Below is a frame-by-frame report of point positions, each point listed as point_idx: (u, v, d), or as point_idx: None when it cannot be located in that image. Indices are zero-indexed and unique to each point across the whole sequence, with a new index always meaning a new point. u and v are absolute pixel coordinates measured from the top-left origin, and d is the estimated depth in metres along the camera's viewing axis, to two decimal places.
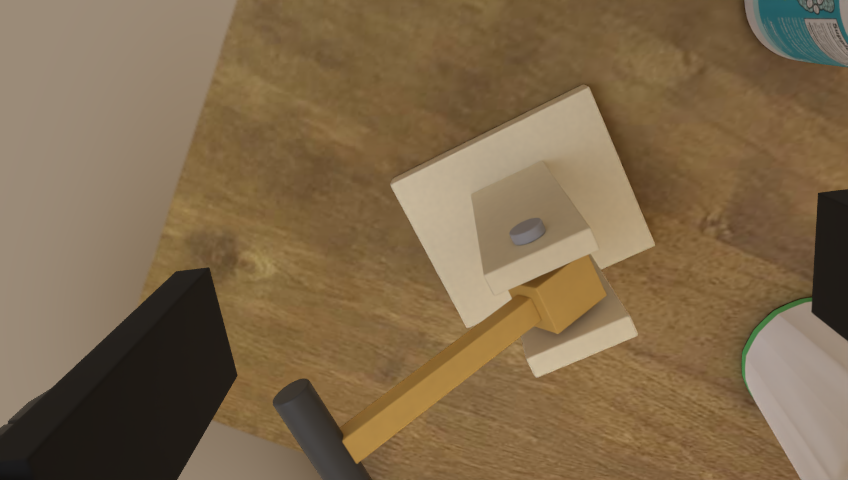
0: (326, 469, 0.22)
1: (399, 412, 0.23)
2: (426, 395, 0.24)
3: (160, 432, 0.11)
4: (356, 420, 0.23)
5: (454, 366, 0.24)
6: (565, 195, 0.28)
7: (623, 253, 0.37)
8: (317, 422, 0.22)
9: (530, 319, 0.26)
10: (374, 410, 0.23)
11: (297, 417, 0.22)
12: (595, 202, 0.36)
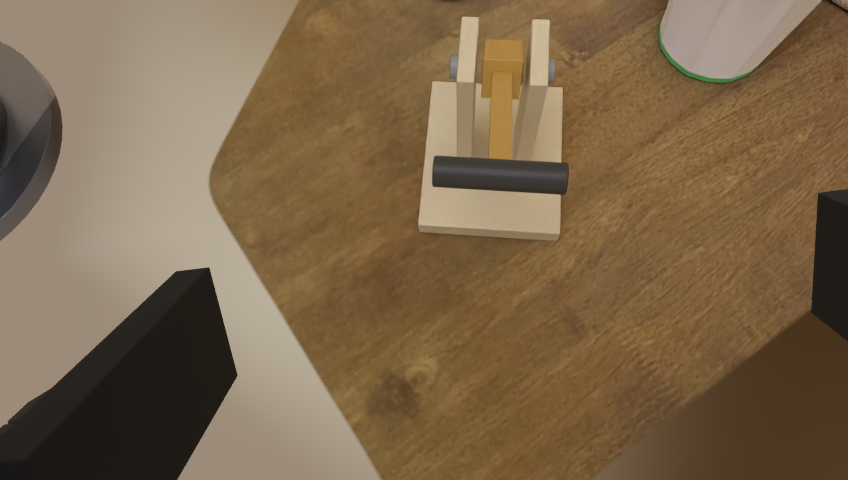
0: (498, 170, 0.29)
1: (499, 133, 0.31)
2: (502, 121, 0.32)
3: (160, 432, 0.11)
4: None
5: (497, 107, 0.33)
6: None
7: (557, 107, 0.49)
8: (460, 157, 0.29)
9: (505, 75, 0.36)
10: (488, 147, 0.31)
11: (447, 163, 0.29)
12: None
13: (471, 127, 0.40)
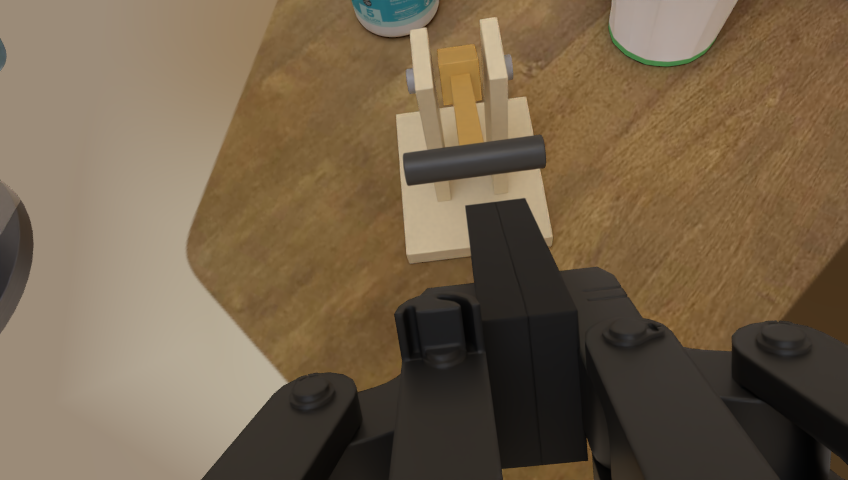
0: (471, 153, 0.27)
1: (466, 124, 0.30)
2: (467, 113, 0.31)
3: None
4: None
5: (460, 102, 0.32)
6: None
7: (524, 116, 0.48)
8: (430, 149, 0.28)
9: (463, 76, 0.35)
10: None
11: (418, 157, 0.27)
12: None
13: (440, 140, 0.39)
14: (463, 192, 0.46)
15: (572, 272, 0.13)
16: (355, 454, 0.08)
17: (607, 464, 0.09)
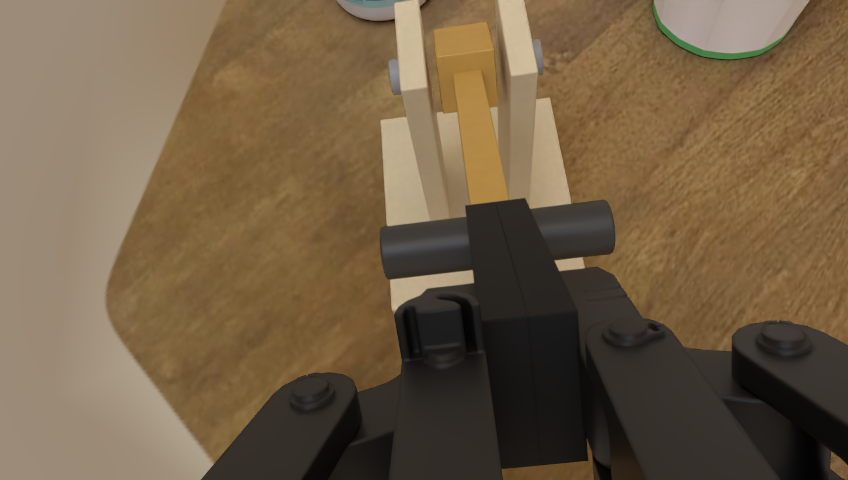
0: None
1: (481, 168, 0.19)
2: (481, 147, 0.20)
3: None
4: None
5: (470, 125, 0.21)
6: None
7: (548, 123, 0.37)
8: (424, 224, 0.17)
9: (472, 74, 0.24)
10: (468, 194, 0.19)
11: (405, 238, 0.17)
12: None
13: (438, 160, 0.28)
14: None
15: (572, 271, 0.13)
16: (355, 454, 0.08)
17: (607, 464, 0.09)
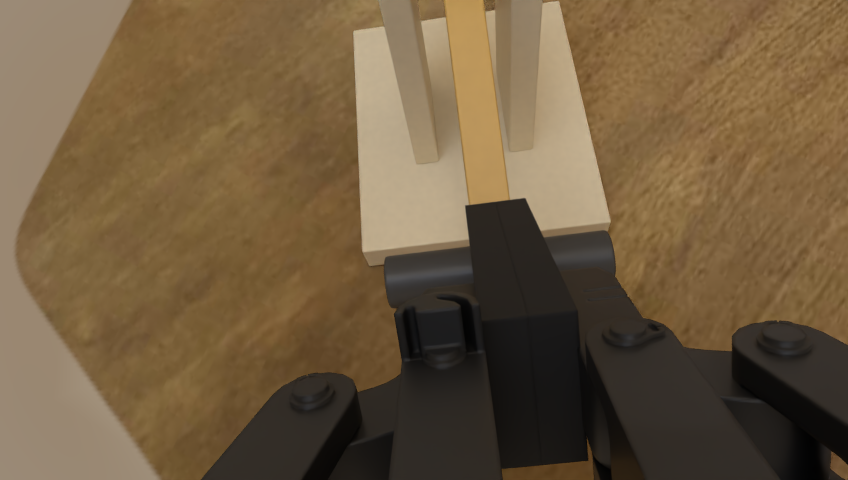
0: None
1: (482, 166, 0.17)
2: (481, 123, 0.18)
3: None
4: None
5: (466, 73, 0.18)
6: None
7: (557, 29, 0.30)
8: (428, 269, 0.17)
9: None
10: None
11: (411, 289, 0.17)
12: None
13: (415, 38, 0.21)
14: (458, 148, 0.28)
15: (572, 272, 0.13)
16: (355, 454, 0.08)
17: (607, 464, 0.09)
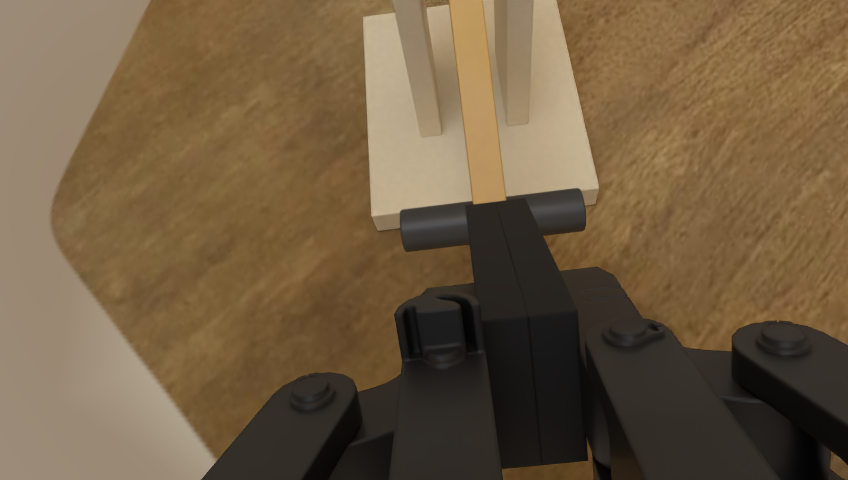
0: None
1: (479, 135, 0.21)
2: (479, 99, 0.21)
3: None
4: None
5: (466, 55, 0.21)
6: None
7: (552, 15, 0.32)
8: (436, 221, 0.21)
9: None
10: None
11: (421, 237, 0.21)
12: None
13: (421, 16, 0.23)
14: (460, 123, 0.30)
15: (572, 272, 0.13)
16: (355, 454, 0.08)
17: (607, 464, 0.09)
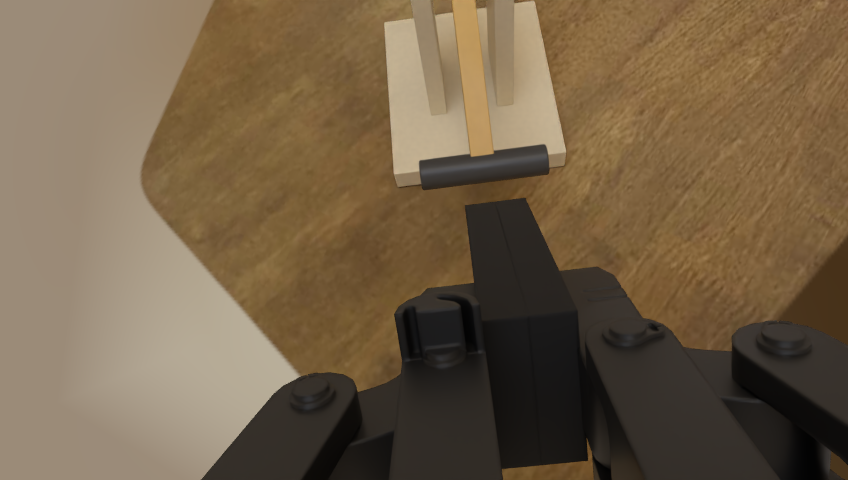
0: (483, 175, 0.30)
1: (474, 107, 0.30)
2: (474, 81, 0.30)
3: None
4: (468, 140, 0.31)
5: (465, 50, 0.30)
6: None
7: (532, 21, 0.41)
8: (445, 167, 0.30)
9: None
10: (466, 124, 0.30)
11: (434, 178, 0.30)
12: None
13: (433, 23, 0.32)
14: (461, 104, 0.39)
15: (572, 272, 0.13)
16: (355, 454, 0.08)
17: (607, 464, 0.09)
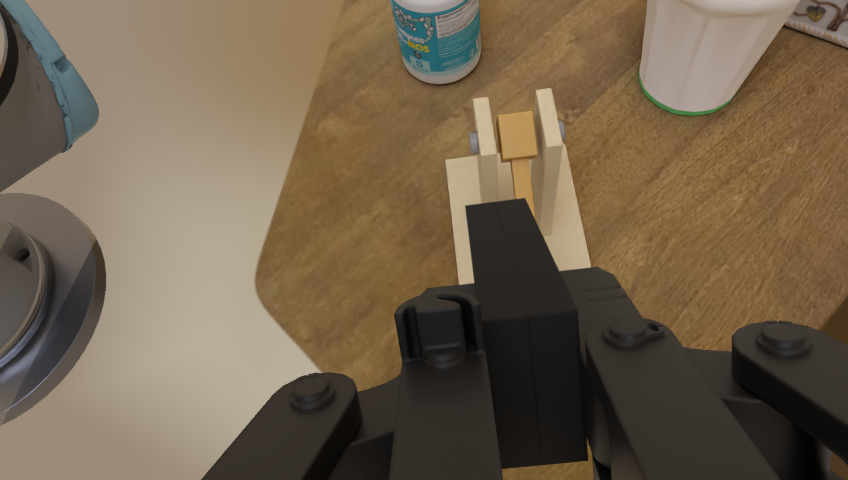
0: None
1: None
2: None
3: None
4: None
5: None
6: None
7: (564, 162, 0.53)
8: None
9: (523, 165, 0.41)
10: None
11: None
12: None
13: (497, 193, 0.44)
14: None
15: (572, 271, 0.13)
16: (355, 454, 0.08)
17: (607, 464, 0.09)
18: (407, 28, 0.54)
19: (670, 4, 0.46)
